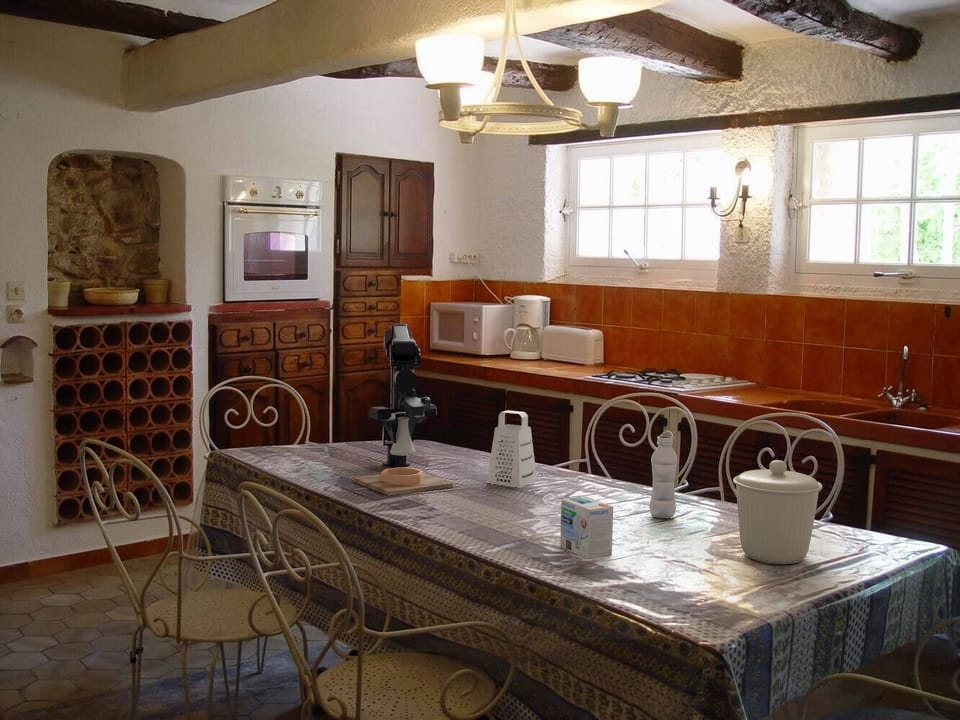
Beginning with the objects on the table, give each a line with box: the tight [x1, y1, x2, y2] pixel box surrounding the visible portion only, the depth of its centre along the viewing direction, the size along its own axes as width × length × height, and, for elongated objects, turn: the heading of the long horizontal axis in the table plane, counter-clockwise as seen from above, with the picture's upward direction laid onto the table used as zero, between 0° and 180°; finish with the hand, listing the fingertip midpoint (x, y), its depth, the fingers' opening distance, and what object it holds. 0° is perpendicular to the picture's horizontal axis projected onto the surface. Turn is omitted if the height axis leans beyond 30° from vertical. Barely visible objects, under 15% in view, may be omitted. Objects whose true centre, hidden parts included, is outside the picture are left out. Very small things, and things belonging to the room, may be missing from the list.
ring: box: [380, 466, 425, 485], centre depth 279 cm, size 11×11×2 cm
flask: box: [390, 416, 417, 456], centre depth 278 cm, size 7×7×10 cm
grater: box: [486, 410, 538, 489], centre depth 283 cm, size 10×10×20 cm
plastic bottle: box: [648, 435, 679, 519], centre depth 246 cm, size 6×7×20 cm
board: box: [352, 472, 453, 497], centre depth 279 cm, size 20×20×1 cm
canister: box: [732, 459, 823, 565], centre depth 214 cm, size 18×18×21 cm
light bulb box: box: [559, 495, 614, 560], centre depth 217 cm, size 11×7×11 cm, turn 29°
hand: (402, 442), depth 278 cm, fingers closed on flask, 5 cm apart
